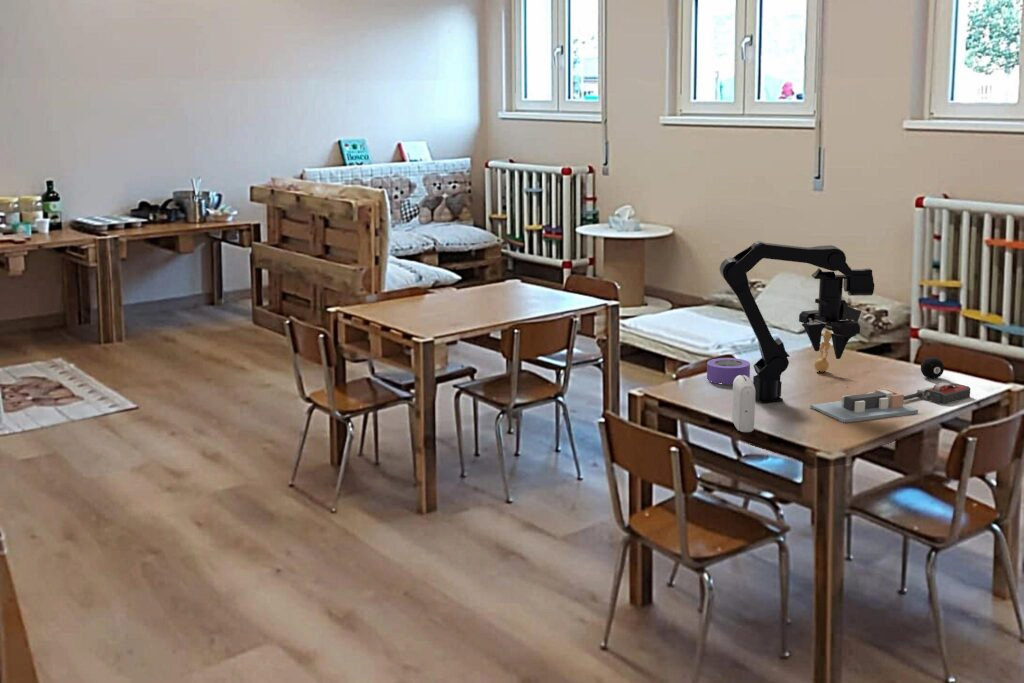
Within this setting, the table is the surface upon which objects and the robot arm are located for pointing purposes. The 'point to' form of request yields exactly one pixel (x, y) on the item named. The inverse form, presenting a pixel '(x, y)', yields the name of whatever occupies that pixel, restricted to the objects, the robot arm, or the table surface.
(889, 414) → the board
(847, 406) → the rod
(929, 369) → the billiard ball
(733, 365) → the tape roll
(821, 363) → the figurine
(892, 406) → the end holder
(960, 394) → the walkie-talkie
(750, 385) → the photo printer
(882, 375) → the table surface
